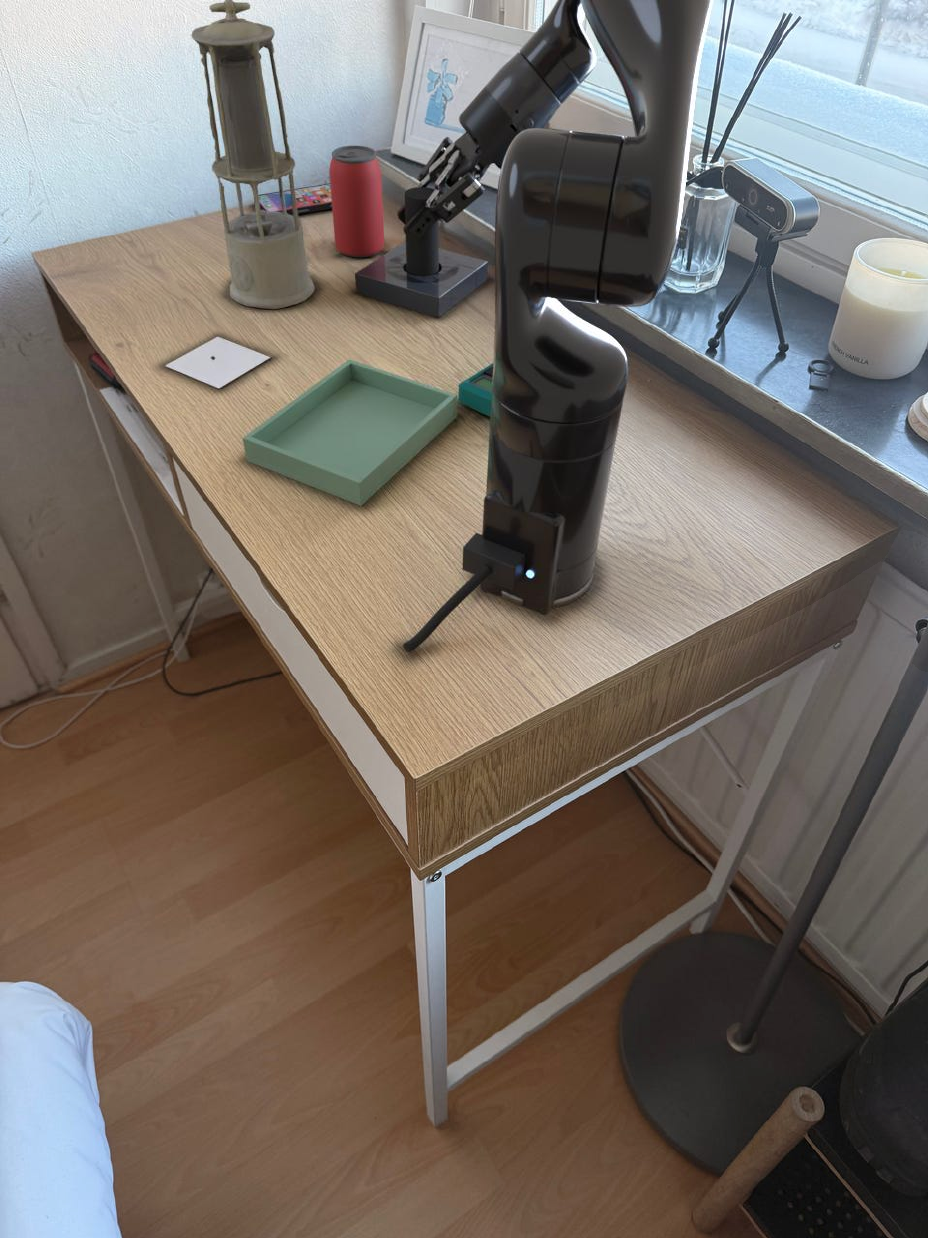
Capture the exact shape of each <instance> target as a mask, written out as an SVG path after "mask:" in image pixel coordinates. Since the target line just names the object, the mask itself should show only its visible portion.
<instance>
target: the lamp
mask: <svg viewBox="0 0 928 1238" xmlns="http://www.w3.org/2000/svg"><path fill="white" fill-rule="evenodd" d="M250 9H251V4H250V3H249V2H246V1H245V2H239V1H237V2H236V1H234V0H224V1H223V2H215V3H212V4H210V5H209V10H210V12H211V13H225V14H226V15H225V17H224V18H222V19H218V20H215V21H213V22H211V23H210V24H206V25H203V26H199V27H197V28H194V29H193V30H192V32H191V38H192V40H194V41H195V43H197V45H198V49H199V53H200V55H201V57H202V58H201V60H200V61H201V64H202V65H203V71H204V72H203V73H204V78H205V79H204V80H205V84H206V92H207V95H206V97H207V98H206V102H207V103H206V105H207V107H208V114H209V125H210V131H211V136H212V138H213V141H214V151H215V152H214V159H215V160H214V162H213V163H212V164H211V171H212V172H213V173H214V174H215V176H216V178H217V183H218V190H219V200H220V210H221V214H222V215H221V216H222V221H223V228H224V229H223V232H224V239H225V244H226V245H225V246H226V251H227V258H228V263H229V264H228V265H229V271H230V277H231V283H230V285H229V296H230V298H231V299H232V300H234V301H235V302H237V303H238V304H240V305H243V306H246V307H250V308H259V309H270V310H277V309H282V308H283V309H284V308H286V307H290V306H295V305H297V304H300V303H302V302H305V301H306V300H308V298H310V297H311V296H312V295H313V293H314V291H315V290H316V287H315V285H314V281H313V280H312V277H311V276H310V273H309V264H308V258H307V253H306V252H307V251H306V245H305V239H304V228H303V224H302V221H301V220H300V218H299V214H298V211H297V203H296V195H295V189H296V188H295V181H294V175H293V173H294V169H295V167H296V160H295V159H294V158H293V157H292V156H291V151H290V146H289V143H288V133H287V124H286V123H287V122H286V115H285V109H284V108H285V107H284V103H283V102H284V101H283V96H282V92H281V89H280V85H279V84H280V83H279V78H278V74H277V68H276V60H275V55H274V53H275V48H274V43H273V38H274V37H275V33H276V32H275V29H274V28H273V27H272V26H269V25H266V24H262V23H258V22H254V21H249V20H247V19H245V18H238V16H237V14H239V13H242V12H245V11H249V10H250ZM263 48H265V49H267V51H268V55H269V60H270V65H271V71H272V78H273V82H274V88H275V94H276V100H277V107H278V112H279V118H280V126H281V132H282V140H283V145H284V153H283V152H281V151H276V149H275V144H274V139H273V134H272V133H273V132H272V124H271V119H270V112H269V107H268V100H267V95H266V86H265V83H264V82H265V81H264V77H263V68H262V62H261V60H262V54H261V53H260V51H261V49H263ZM207 54H208V55H209V56H210V61H211V67H212V73H213V83H214V92H215V98H216V104H217V112H218V119H219V125H220V131H221V136H222V142H223V147H224V148H223V149H224V155H223V156H221V150H220V143H219V142H220V141H219V135H218V128H217V121H216V116H215V114H216V113H215V108H214V100H213V96H212V91H211V83H210V82H211V81H210V74H209V68H208V58H207V57H208V56H207ZM283 177H288V182H289V190H290V191H291V199H292V209H293V215H289V214H287V213H286V208H285V197H284V191H285V190H284V184H283V183H284V182H283V179H282V178H283ZM221 179H223V180H225V181H228V182H229V183H232V184H234V185H235V189H236V195H237V196H236V197H237V203H238V208H239V209H238V210H239V215H238V216H236V217H234V218H232V219H230V220H229V217H228V216H229V215H228V210H227V204H226V197H225V185H223V182H222V181H221ZM271 180H275V181H276V180H277V182H278V183H277V184H278V192H279V191H280V198H281V207H282V212H273V211H265V210H260V204H259V196H258V195H259V188H258V186H259V184H260V185H261V184H263V183H265V182H269V181H271ZM241 184H244V185H249V186H250V188H251V191H252V195H253V202H254V201H255V203H254V207H255V211H253V212H248V213H245V212H244V204H243V195H242V194H243V193H242V189H241Z"/></svg>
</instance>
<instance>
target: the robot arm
mask: <svg viewBox="0 0 928 1238" xmlns="http://www.w3.org/2000/svg"><path fill="white" fill-rule="evenodd" d="M713 2H714V0H556V2H555V4H554V6H553V7H552V9H551V11H550V12H549V13H548V16H547V17H546V19H545V20H544V21H543V23H542V24H541V25H540V26H539V28H537V30H536V31H535V32H534V33H533V35H531V36H530V38H529V39H528V40H527V41H526V43H524V45H523V46H522V47H521V48H520V49H519V51H518V52H516V54H515V55H514V56H513V57H512V58H510V59H509V60H508V61H506V63H504V65H502V67H500V69H499V70H498V71H497V72H496V73H495V74H494V75H493V77H491V79H490V80H489V81H488V82H487V84H486V85H485V86H484V87H483V88H482V89H481V90H480V92H479V93H478V94H477V95H476V96H475V98H473V100H472V101H471V102H470V103H469V104H468V106H466V108H465V109H464V110H463V111H462V113H460V114H459V117H458V121H459V124H460V126H461V127H462V128H463V130H464V131H465V133H463V134H462V135H461V136H460V137H459V138H457V139H456V140H455V141H453V140H452V139H451V138H450V137H449V136H446V137H445V138H443V139H442V141H441V143H440V144H439V146H438V147H437V149H436V150H435V151H434V153H433V154H432V155H431V156H430V159H428V162H427V163H426V164H425V166H424V167H423V169H422V170H421V171H420V173H419V174H418V176H417V181H418V184H417V185H416V187H427V188H432V189H435V191H434V192H433V193H432V195H431V196H430V197H429V199H428V200H427V201H426V203H425V206H424V205H423V206H422V207H421V208H420V209H419V210H418V212H417V213H416V214H415V215H414V216H413V217H412V218H411V219H410V221H409V222H408V223H407V224H406V225H405V203H403V205H402V206H401V207H400V208H399V209H398V210H397V213H396V214H397V217H398V219H399V221H401V222H402V224H404V226H403V228H402V229H403V233H404V235H405V236H406V235H407V236H408V237H409V238H410V239H411V240H412V241H413V242H415V243H416V242H418V241H419V240H420V239H421V238H422V237H423V236H424V235H425V234H426V233H427V231H428V230H429V229H430V228H431V227H432V226H433V225H434V224H435V223H436V222H437V220H439V222H441V221H444V223H446V224H448V223H449V222H451V221H452V220H453V219H455V218H456V217H457V216H458V215H459V214H461V213H462V212H463V211H464V210H466V208H468V207H469V206H470V205H471V204H473V203H474V202H475V201H476V200H478V199H479V198H480V197H481V196H482V195H483V194H484V193H485V190H486V189H485V187H484V186H483V185H482V184H481V183H480V181H481V180H482V178H483V177H484V176H485V174H486V172H487V171H488V170H489V168H490V166H491V165H493V164H494V165H495V166H496V167H497V168H498V169H499V170H500V172H499V176H498V177H499V178H498V182H497V183H498V184H497V193H496V200H495V201H496V202H495V213H494V214H495V216H494V217H495V220H494V221H495V222H494V228H495V229H494V275H495V276H494V281H495V282H494V283H495V284H494V285H495V287H494V288H495V289H494V290H495V295H494V296H495V297H494V301H495V303H494V335H493V336H494V337H493V361H492V363H493V379H492V399H491V417H489V431H488V432H489V435H488V450H487V451H488V453H487V470H486V471H487V473H486V488H485V489H486V491H485V496H484V499H483V510H482V512H483V513H482V528H481V529H482V530H481V533H479V532H475V533H474V534H473V535H472V536H471V537H470V539H468V541H467V542H466V543H465V544H464V545H463V547H462V568H461V569H462V571H464V572H468V573H470V574H471V575H472V577H471V578H469V579H468V580H467V581H466V582H465V583H464V584H463V585H462V586H461V587H460V588H459V589H458V590H457V591H456V592H455V593H454V594H453V595H452V596H451V597H450V598H449V599H447V601H445V603H444V604H443V605H442V606H441V607H440V608H439V609H438V610H437V611H436V612H435V613H434V614H433V615H432V616H431V617H430V619H429V620H428V621H427V622H426V623H425V625H423V627H422V628H421V629H420V630H419V631H418V632H417V633H416V634H415V635H413V637H411V638H410V639H409V640H408V641H406V642H404V643H403V644H402V646H403V649H404V650H405V652H407V653H411V652H413V651H415V650H416V649H418V648H419V647H420V646H421V645H422V644H423V643H424V642H425V641H427V640H428V639H429V637H430V636H431V635H432V634H433V633H434V632H435V630H436V629H437V628H438V627H439V626H440V625H441V624H442V623H443V622H444V620H445V619H446V618H448V616H449V615H450V614H451V613H452V612H454V610H455V609H456V608H457V607H458V606H460V604H461V603H462V602H464V600H465V599H466V598H467V597H468V596H469V595H470V594H472V593H473V592H474V591H475V590H476V589H477V588H478V587H479V589H480V590H482V591H484V592H488V593H490V594H492V595H493V596H496V597H498V598H501V599H504V600H505V601H508V602H510V603H513V604H514V605H518V606H520V607H523V608H526V609H527V610H531V611H532V612H535V613H538V614H540V615H543V616H547V615H548V614H550V612H551V610H553V609H554V608H557V607H561V606H565V605H568V604H570V603H572V602H575V601H576V600H578V599H579V598H581V597H582V596H583V595H584V594H586V593H587V591H589V588H590V587H591V585H592V583H593V580H594V574H595V568H596V567H595V563H596V557H597V552H598V545H599V540H600V532H601V527H602V522H603V515H604V511H605V505H606V499H607V493H608V487H609V482H610V475H611V469H612V464H613V459H614V454H615V447H616V442H617V437H618V431H619V427H620V426H619V425H620V421H621V415H622V409H623V403H624V398H625V395H626V388H627V384H628V383H627V382H628V377H629V361H628V356H627V353H626V351H625V350H624V348H623V347H622V346H621V344H620V343H619V342H618V341H617V340H616V339H615V338H614V337H613V336H612V335H610V334H609V333H608V332H606V331H605V330H603V329H602V328H599V327H598V326H596V325H594V324H592V323H590V322H589V321H587V320H585V319H583V318H582V317H580V316H578V315H576V313H574V312H572V311H571V310H569V309H568V308H567V307H566V306H565V305H564V304H563V303H561V301H562V300H563V301H570V302H577V303H578V302H579V303H586V304H593V305H597V304H599V305H603V306H608V307H609V306H611V307H622V308H637V307H643V306H646V305H649V304H650V303H651V302H652V301H654V300H655V298H656V297H657V296H658V295H659V294H660V292H661V290H663V287H664V285H665V282H666V281H667V279H668V277H669V273H670V271H671V268H672V264H673V261H674V258H675V253H676V250H677V245H678V239H679V235H680V228H681V223H682V215H683V207H684V199H685V191H686V182H687V175H688V174H687V173H688V165H689V156H690V145H691V138H692V137H691V136H692V127H693V121H694V119H693V118H694V110H695V101H696V94H697V86H698V79H699V78H698V77H699V71H700V66H701V65H700V64H701V61H702V60H701V59H702V53H703V48H704V44H705V40H706V39H705V38H706V34H707V33H706V32H707V29H708V25H709V20H710V15H711V10H712V6H713ZM585 18H586V20H587V23H588V25H589V27H590V29H591V30H592V32H593V34H594V37H595V38H596V39H595V40H596V41H597V43H598V44H599V47H600V49H601V50H602V52H603V54H604V56H605V58H606V59H607V61H608V63H609V64H610V66H611V68H612V69H613V72H614V74H615V75H616V77H617V79H618V81H619V83H620V85H621V87H622V90H623V93H624V95H625V99H626V101H627V104H628V108H629V112H630V116H631V121H632V125H633V131H634V136H628V135H626V136H625V137H624V135H621V134H620V135H619V134H611V133H610V134H609V133H597V132H589V131H580V130H571V129H570V130H568V129H558V128H547V127H546V126H547V125H548V123H549V122H550V121H551V120H552V118H553V117H554V116H555V114H556V112H557V111H558V109H559V108H560V107H561V106H562V105H563V103H564V102H565V101H567V99H568V98H569V97H570V96H571V95H572V94H573V93H574V92H575V91H576V89H577V88H578V87H579V86H580V85H581V84H582V83H584V81H585V80H586V79H587V77H589V75H590V74H591V73H592V71H593V70H594V69H595V67H596V64H597V54H596V51H595V49H594V47H593V45H592V42H591V41H590V38H589V37H588V35H587V33H586V31H585V29H584V21H585ZM545 127H546V128H545Z"/></svg>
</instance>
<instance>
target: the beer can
mask: <svg viewBox="0 0 928 1238" xmlns="http://www.w3.org/2000/svg"><path fill="white" fill-rule="evenodd" d="M377 155H378V154H377V152H376V150H374V149H373V148H371V147H369V146H365V145H343V146H340V147H337V148H335V149H334V150H333V151H332V152H331V161H330V164H329V169H328V171H329V172H328V173H329V183H330V187H331V199H332V208H331V211H332V223H333V234H334V245H335V249H336V250H337V251H338V252H339V253H340V254H343V255H344V256H347V257H351V258H369V257H373V256H375V255H377V254H378V253H380V252H381V251H382V250H383V248H384V247H385V229H384V228H385V227H384V204H383V181H382V180H383V178H382V170H381V166H380V165H381V164H380V162H379V160H378V157H377Z"/></svg>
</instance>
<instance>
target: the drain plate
mask: <svg viewBox="0 0 928 1238" xmlns="http://www.w3.org/2000/svg"><path fill="white" fill-rule="evenodd" d="M488 267H489V262H488V260H484V259H480V258H476V257H473V256H469V255H465V254H461V253H458V252H455V251H450V250H447V249H444V248H443V249H442V248H439V270H438V272H437V273H435V274H433V275H429V276H416V275H413V274H410V273H409V272H408V271H407V269H406V240H405V241H404V242H402V243H401V244H399V245H398V246H396V247H395V248H392V249H391V250H390V251H388V252H386V253H385V254H383V255H381V256H379V258H376V259H375V260H374V261H372V262H370V263H369V264H368V265H366V266H365V267H363V268H361V269H360V270H358V271H357V272H355V273H354V279H355V292H356V294H358V295H362V296H365V297H369V298H371V299H375V300H377V301H381V302H385V303H387V304H392V305H396V306H399V307H401V308H405V309H408V310H411V311H415V312H419V313H421V314H425V315H429V316H432V317H436V318H437V319H438V318H440V317H442V316H443V315H444V314H446V313H447V312H448V311H450V310H451V309H453V308H454V307H455V306H456V305H457V304H459V303H460V302H462V301H463V300H464V299H465V298H467V297H468V296H469V295H470V294H472V293H473V292H475V290H477V289H478V288H479V287H481V286H482V285H483V284H484V283H485V282H487V281H488Z"/></svg>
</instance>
